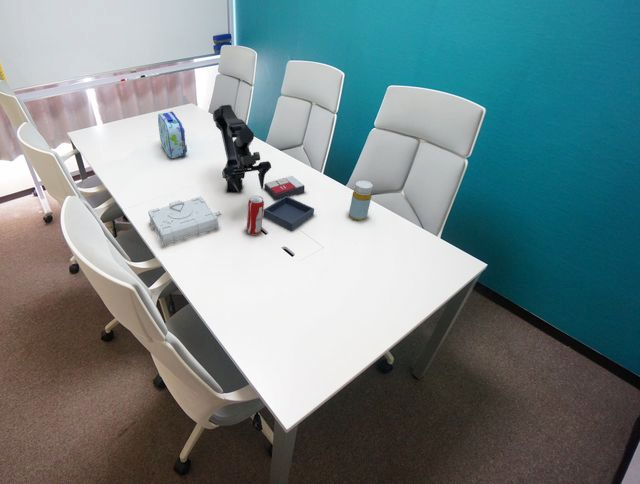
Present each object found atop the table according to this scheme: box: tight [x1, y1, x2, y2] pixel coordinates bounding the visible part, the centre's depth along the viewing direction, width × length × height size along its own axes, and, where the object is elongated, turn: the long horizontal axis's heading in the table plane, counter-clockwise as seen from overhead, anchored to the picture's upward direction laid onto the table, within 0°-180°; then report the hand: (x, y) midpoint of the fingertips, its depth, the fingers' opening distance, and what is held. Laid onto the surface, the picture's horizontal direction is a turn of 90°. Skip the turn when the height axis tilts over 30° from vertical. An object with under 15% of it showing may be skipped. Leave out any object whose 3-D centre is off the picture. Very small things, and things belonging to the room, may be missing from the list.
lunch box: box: [157, 110, 188, 159], centre depth 192 cm, size 26×11×21 cm, turn 23°
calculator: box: [263, 175, 305, 201], centre depth 158 cm, size 11×4×15 cm
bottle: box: [348, 180, 374, 222], centre depth 137 cm, size 7×7×15 cm
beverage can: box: [245, 194, 265, 236], centre depth 130 cm, size 6×6×15 cm
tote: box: [263, 196, 315, 232], centre depth 141 cm, size 15×15×4 cm
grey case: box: [147, 195, 222, 246], centre depth 137 cm, size 19×28×8 cm
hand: (251, 190), depth 133 cm, fingers open, 9 cm apart
